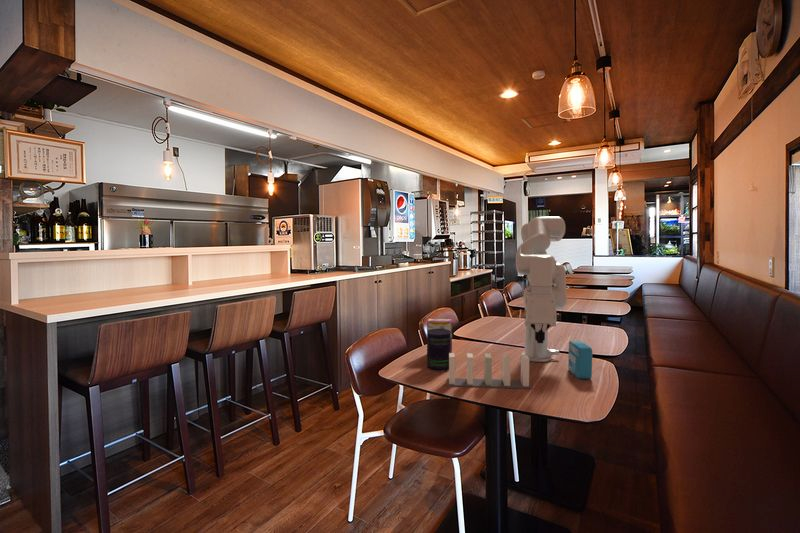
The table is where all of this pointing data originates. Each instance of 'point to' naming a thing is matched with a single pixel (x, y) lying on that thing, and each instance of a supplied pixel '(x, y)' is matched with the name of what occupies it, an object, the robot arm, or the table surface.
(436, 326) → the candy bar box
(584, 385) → the table surface
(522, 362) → the domino
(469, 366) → the domino
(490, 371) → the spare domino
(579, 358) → the teal box
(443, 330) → the storage jar
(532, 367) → the table surface
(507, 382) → the domino
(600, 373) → the table surface
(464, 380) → the mat
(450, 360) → the domino
